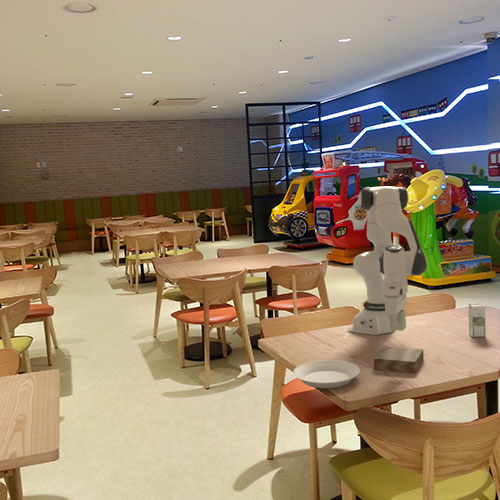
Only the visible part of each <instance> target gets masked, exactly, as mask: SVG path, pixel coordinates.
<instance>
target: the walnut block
mask: <svg viewBox="0 0 500 500" xmlns="http://www.w3.org/2000/svg"><path fill="white" fill-rule="evenodd" d="M424 358H425V357H424V349H423V348H414V347H413V348H411V347H410V348H407V347H398V346H396V347H395V346H382V348H381V349H380V350H379V352H377V354H376V355H375V356H374V357H373V358H372V359H373V370H374V371H384V372H394V373H396V372H397V373H406V374H417V373H418V371H419V369H420V367H421V365H422V364H423V362H425V361H424Z"/></svg>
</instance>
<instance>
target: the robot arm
mask: <svg viewBox="0 0 500 500" xmlns="http://www.w3.org/2000/svg"><path fill="white" fill-rule="evenodd" d="M409 197H410V196H409V192H408V190H407V189H406V188H405V187H402V186H388V185H386V186H385V185H384V186H373V187H370V186H367V187H364V188H362V189H360V191H359V194H358V199H357V200H358V204H359V207H360V208H361V210H364V211H368V213H367V221H366V222H367V223H366V237H367V240H369V242H371V243H372V244H373V250H372V251H365V252H362V253H360V254H358V255H355V257H354V258H353V264H352V265H353V268H354V271H355V272H356V273H357V274H358V275H359V276H361V278H362V279H363V282H364V284H365V288H366V298H367V299H366V300H365V301H364V302H363V304H362V308H363V309H362V310H361V311H359V312H358V313H357V314H356V315H354V317H353V319H352V324H350V325H349V326H348V329H347V331H348V332H349V333H359V334H364V335H372V336H378V335H382V334H390V333H393V332H394V331H396V330H390V316H391V317H392V320H393V324H394V325H397V324H398V317H397V316H398V313H399V312H400V311H401V310H404V309H405V307H406V306H407V304H408V297H407V293H408V292H409V287H408V276H417V277H419V276H421V275H422V274H424V273H425V272H426V271H427V269H428V268H427V267H428V260H427V257H426V255H425V252H424V250H423V249H422V246H421V245H422V244H421V243H420V240H419V237H418V235H417V232H416V229H415V226H414V224H413V222H412V220H411V219H410V218H408V217H406V215H405V214H404V213H403V210H404V209H405V208H407V206H408V203H409V200H410V199H409ZM392 233H395V234H399V235H401V236H403V237H404V238H406V241H407V244H408V246H409V250H406V251H405V248H404V247H403V246H401V245H397V244H395V245H393V241H392ZM382 274H383V276H384V278H383V276H382Z"/></svg>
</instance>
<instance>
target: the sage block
mask: <svg viewBox="0 0 500 500" xmlns="http://www.w3.org/2000/svg"><path fill="white" fill-rule="evenodd" d="M397 317H398V324H397V325H394V324H393V320H392V317H391V316H390V330H395V331H398V332H399V331H402V332H403V331H405V329H406V328H407V323H406V321H407V320H406V310H405V309H403V310H401V311H400V312H399V313H398V316H397Z"/></svg>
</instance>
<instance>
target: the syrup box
mask: <svg viewBox="0 0 500 500" xmlns="http://www.w3.org/2000/svg"><path fill="white" fill-rule="evenodd" d="M468 333H469V335H470V337H472V338H486V337H487V336H486V335H487V334H486V306H485V305H484V304H483V303H482V302H479V303H468Z"/></svg>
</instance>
